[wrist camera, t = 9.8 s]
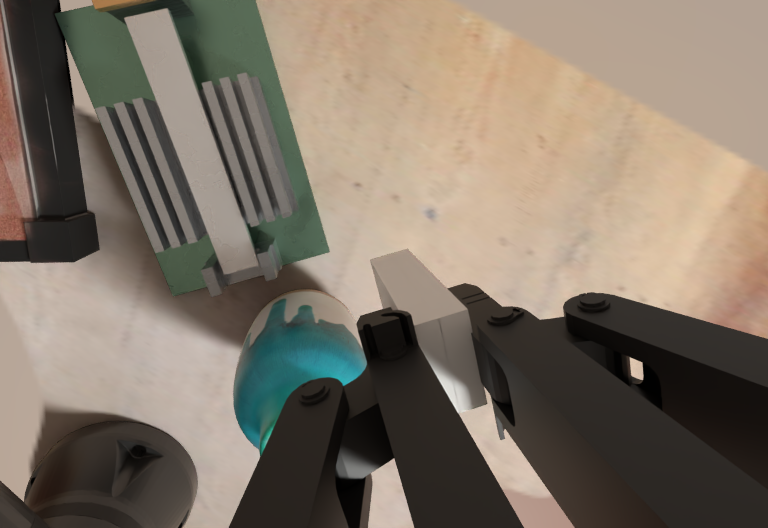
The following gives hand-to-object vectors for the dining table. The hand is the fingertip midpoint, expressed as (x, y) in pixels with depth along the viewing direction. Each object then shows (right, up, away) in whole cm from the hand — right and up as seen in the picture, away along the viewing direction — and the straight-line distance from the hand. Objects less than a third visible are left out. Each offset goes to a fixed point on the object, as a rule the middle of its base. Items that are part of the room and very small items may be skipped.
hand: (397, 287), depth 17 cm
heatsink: (-16, +11, +22) cm, 29 cm away
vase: (-9, -5, +28) cm, 30 cm away
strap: (-15, +10, +18) cm, 25 cm away
